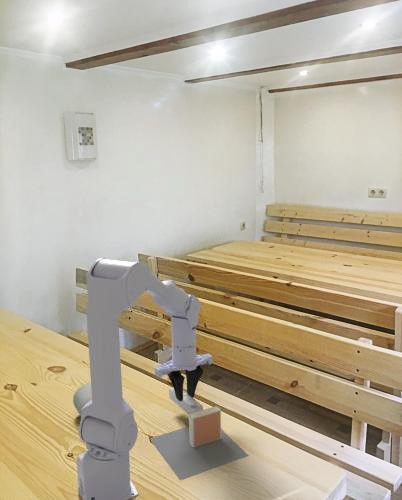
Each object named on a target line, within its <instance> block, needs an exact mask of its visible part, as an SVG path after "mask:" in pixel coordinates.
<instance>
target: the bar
mask: <svg viewBox="0 0 402 500" xmlns="http://www.w3.org/2000/svg"><path fill="white" fill-rule="evenodd" d="M168 391H169V392H168V396H169V397H168V398H169V399H170V400H171V401H172V402H174V404H176V405H177V406H178V407H179V408H181V410H182V411H183V412H185V413H186V414H187V415H188V416H189V414H191V413H194V412H198V411H201V410H204V409H203V408H204V405H202V404H201V403H200V402H199V401H197V400H196V399H195V397H193V398H192V397H191V396H190V395H189V394H187V391H185V390H184V389H183V401H179V400H178V399H177V398H176V395H175V391H174V388H173V386H172V387H169V388H168Z"/></svg>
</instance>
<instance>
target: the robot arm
mask: <svg viewBox="0 0 402 500" xmlns="http://www.w3.org/2000/svg"><path fill="white" fill-rule="evenodd" d="M85 277H86V278H85V279H86V289H87V291H86V292H87V302H86V311H85V312H86V325H87V326H86V327H87V328H86V329H87V339H88V340H87V342H88V343H87V344H88V357H89V358H88V359H89V373H90V374H89V376H90V383H91V391H92V400H90V401H89V402H88V403H86V404H85V405H84V407H83V408H82V409H81V416H80V422H79V425H78V437H79V439H80V440H81V441H82V442H83V443H85V446H86V447H85V448H86V451H85V452H82V453H81V454H79V455H77V456H76V468H77V471H76V472H77V485H78V486H77V490H78V492H79V496H80V497H81V499H82V500H129V499H133V498H135V497H137V496H138V495H139V492H138V490H137V489H136V487H135V485H134V484H133V482H132V480H131V470H130V469H131V467H130V465H131V464H130V451H131V450H132V449H133V447H134V446H135V444H136V442H137V439H138V435H139V429H138V428H139V427H138V424H137V421H136V419H135V415H134V410H133V408H132V406H131V405H129V403H128V402H127V401H126V400H125V399H124V398H123V382H122V381H123V380H122V379H123V378H122V365H121V364H122V363H121V362H122V361H121V360H122V359H121V346H120V345H121V344H120V343H121V341H120V325H119V323H120V322H119V321H120V320H119V316H120V314H121V313H123V312H125V311H128V310H129V309H130V308H131V307H132V306H133V305H134V304H135V302H136V301H137V300H138V299H139V298H140V297H141V296H142V295H143V294H144V293H147V295H151V297H152V302H154V304H155V305H156V306H158V307H160V309H163V310H164V311H165V313H166V316H167V317H170V324H171V325H170V328H171V331H170V332H171V333H170V334H171V359H170V360H169V361H166V362H164V363H162V364H160V365H157V366H154V375H155V376H156V377H158V378H159V379H160V378H162V377H163V376H166V375H167V377H168V379H169V380H170V383H171V385H172V387H173V388H174V391H175V395H176V398H177V399H178V400H179V401H183V390H184V383H185V378H186V393H187V394H189V395H190V396H191V397H192V398H195V395H196V394H195V393H196V390H197V386H198V383H199V381H200V378H201V377H202V375H203V374H204V369H203V368H202V367H201V366H202V365H203V366H204V365H212V364H213V355H211V354H210V353H204V354H197V325H198V323H199V314H200V313H201V312H200V310H201V302H200V300H199V298H198V297H197V296H196V295H194V294H189V293H187V292H186V290H185V289H184V288H181V287H179V286H178V285H176V281H175V280H171V279H167V280H163V281H162V280H161V279H160V278H159V277H157V276H156V275H155V274H154V273H152V272H151V267H150V266H149V265H146V264H145V263H144V262H142V261H124V260H118V259H117V260H116V259H108V258H105V257H103V258H102V257H100V258H98V259H96V260H95V261H94V262H93V263H92V265H91V266H90V268H89V269H88V271H87V273H86V274H85ZM181 371H185V376H184V375H182V372H181Z"/></svg>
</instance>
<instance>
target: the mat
mask: <svg viewBox="0 0 402 500" xmlns="http://www.w3.org/2000/svg"><path fill="white" fill-rule="evenodd" d="M148 440H150V442H151V443H152V444H153V446H154V447H155V448H156V450H157V451H158V452H159V454H160V455H161V457H162V458H163V459H164V461H165V462H166V463H167V464H168V466H169V467H170V469H171V470H172V471H173V473H174V474H175V475H176V477H177V478H178V480H180V481H181V480H184V479H188V478H190V477H193V476H195V475H198V474H202V473H204V472H207V471H209V470H213V469H215V468H217V467H221V466H223V465H226V464H229V463H231V462H234V461H237V460H240V459H243V458H245V457H248V456H249V454H248V453H247V452H246V451H245V450H244V449H243V448H242V447H241V446H240V445H239V444H237V442H236V441H234V439H233V438H231V437H230V436H229V435H228V434H227V433H226V432H225V431H224V429H222V428H221V439H218V440H215V441H212V442H209V443H206V444H203V445H200V446H197V447H194V448H193V447H192V446H191V445H190V443H189V426H186V427H183V428H179V429H176V430H173V431H169V432H166V433H163V434H160V435H157V436H153V437H150V438H149V439H148Z"/></svg>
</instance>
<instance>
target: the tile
mask: <svg viewBox="0 0 402 500" xmlns="http://www.w3.org/2000/svg"><path fill="white" fill-rule="evenodd" d="M221 413H222V410H221V408H219V407H218V405H216V406H211V407H209V408H205V409H203V410H201V411H198V412H194V413H191V414H189V415H188V427H189V443H190V445H191V446H192V447H193V448H194V447H197V446H200V445H203V444H206V443H209V442H212V441H215V440H218V439H221V429H222V424H221V423H222V422H221V420H222V414H221Z"/></svg>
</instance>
